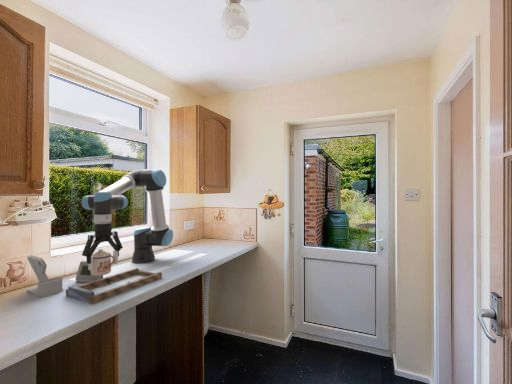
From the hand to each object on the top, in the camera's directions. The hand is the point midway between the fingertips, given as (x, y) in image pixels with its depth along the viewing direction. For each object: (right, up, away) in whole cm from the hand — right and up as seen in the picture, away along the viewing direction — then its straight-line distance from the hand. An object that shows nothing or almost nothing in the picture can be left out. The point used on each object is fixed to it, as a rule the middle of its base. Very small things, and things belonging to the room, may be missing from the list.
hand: (103, 266), depth 133 cm
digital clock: (-15, -12, +14) cm, 24 cm away
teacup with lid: (0, -3, 0) cm, 3 cm away
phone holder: (-30, -13, +1) cm, 32 cm away
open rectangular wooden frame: (+4, -12, +7) cm, 14 cm away
